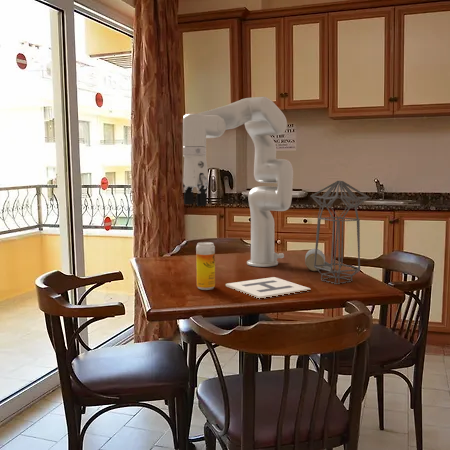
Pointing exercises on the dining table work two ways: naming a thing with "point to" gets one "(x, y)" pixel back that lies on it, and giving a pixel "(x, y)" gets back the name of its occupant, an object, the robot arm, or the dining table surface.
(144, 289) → the dining table surface
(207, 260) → the beer can
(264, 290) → the letter board
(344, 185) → the geometric lantern
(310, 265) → the ceramic mug
